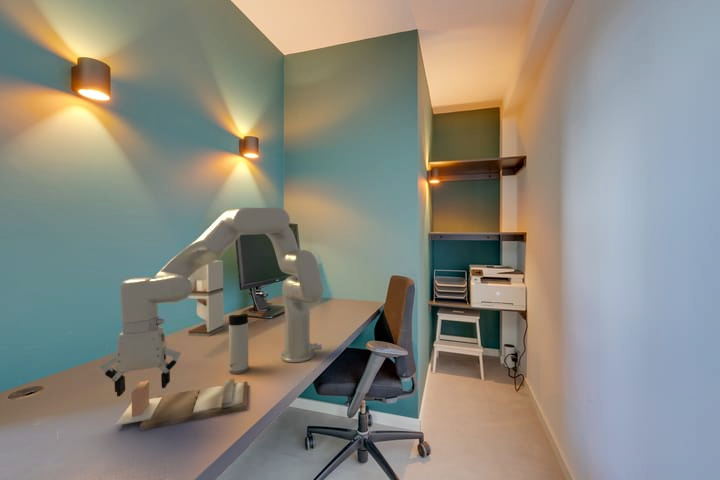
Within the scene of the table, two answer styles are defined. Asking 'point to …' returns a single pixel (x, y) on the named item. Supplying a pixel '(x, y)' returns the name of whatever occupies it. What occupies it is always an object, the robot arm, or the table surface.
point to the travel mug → (238, 343)
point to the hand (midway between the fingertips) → (143, 389)
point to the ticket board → (199, 404)
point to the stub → (140, 405)
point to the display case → (208, 298)
